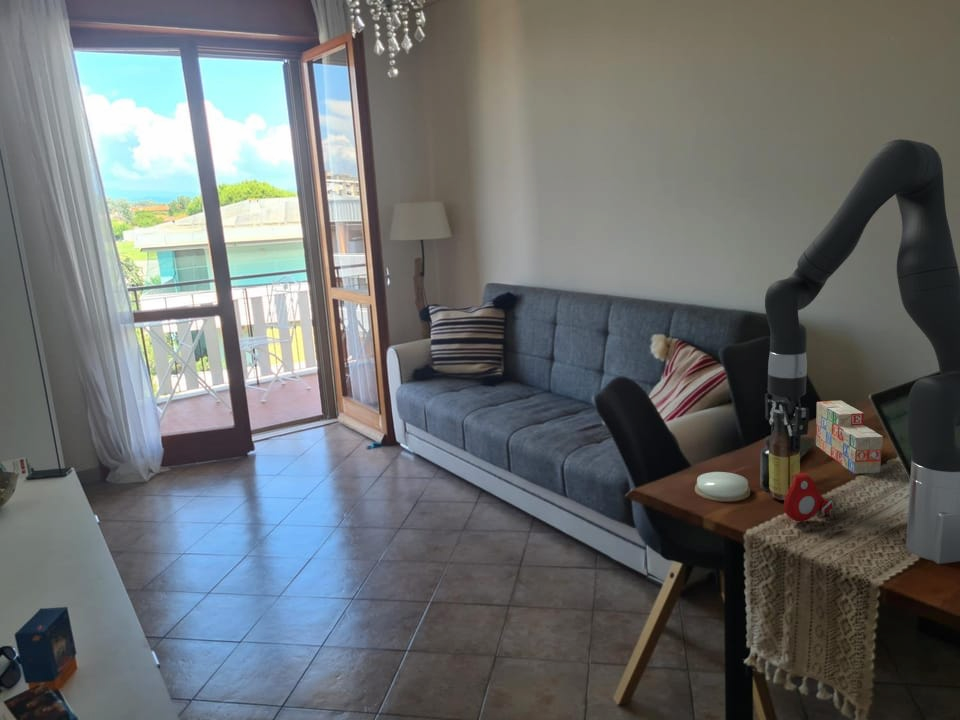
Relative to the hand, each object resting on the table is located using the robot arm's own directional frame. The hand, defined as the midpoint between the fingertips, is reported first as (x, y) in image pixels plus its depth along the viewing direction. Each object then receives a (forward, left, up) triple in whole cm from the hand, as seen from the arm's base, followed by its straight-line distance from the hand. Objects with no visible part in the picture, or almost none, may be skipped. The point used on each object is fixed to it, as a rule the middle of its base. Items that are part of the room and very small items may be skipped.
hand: (785, 445), depth 154 cm
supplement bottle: (+5, -1, -12) cm, 13 cm away
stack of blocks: (+18, -26, -12) cm, 34 cm away
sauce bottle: (0, 0, -12) cm, 12 cm away
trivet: (+7, +11, -12) cm, 18 cm away
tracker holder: (-11, +1, -12) cm, 17 cm away
